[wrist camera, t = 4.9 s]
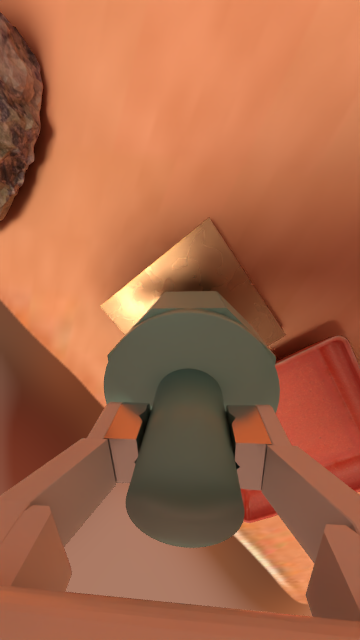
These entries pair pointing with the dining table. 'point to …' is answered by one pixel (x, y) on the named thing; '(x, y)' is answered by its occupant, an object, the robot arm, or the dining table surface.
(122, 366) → the cap
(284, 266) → the dining table surface
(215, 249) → the post
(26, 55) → the mineral rock
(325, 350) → the plant saucer
